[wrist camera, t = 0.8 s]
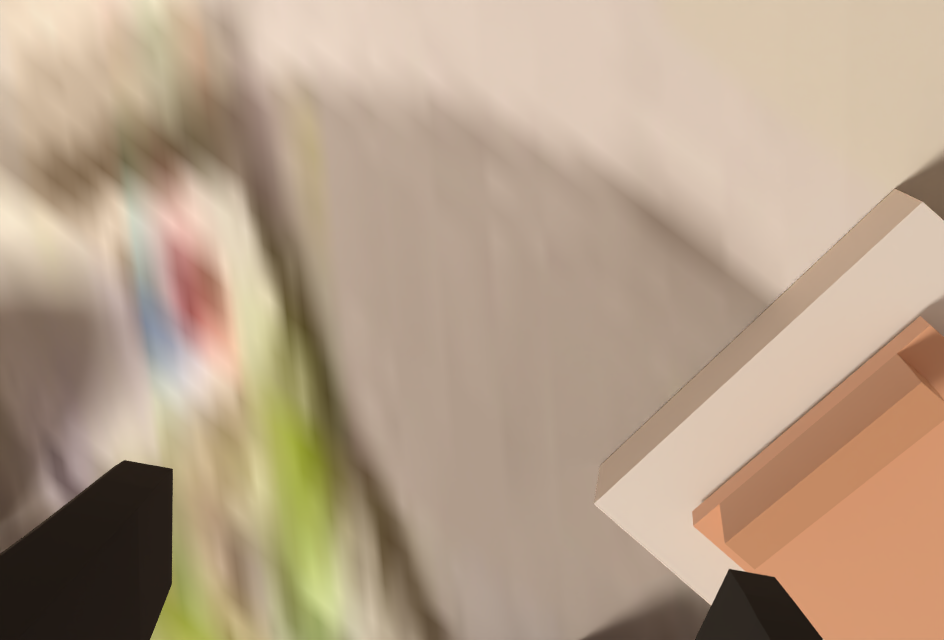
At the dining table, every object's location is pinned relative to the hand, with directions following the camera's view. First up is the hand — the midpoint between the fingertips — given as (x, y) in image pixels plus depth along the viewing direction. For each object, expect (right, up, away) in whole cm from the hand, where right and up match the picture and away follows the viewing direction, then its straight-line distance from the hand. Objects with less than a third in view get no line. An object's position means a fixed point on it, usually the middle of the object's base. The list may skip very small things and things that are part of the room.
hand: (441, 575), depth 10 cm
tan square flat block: (+12, -2, +11) cm, 17 cm away
